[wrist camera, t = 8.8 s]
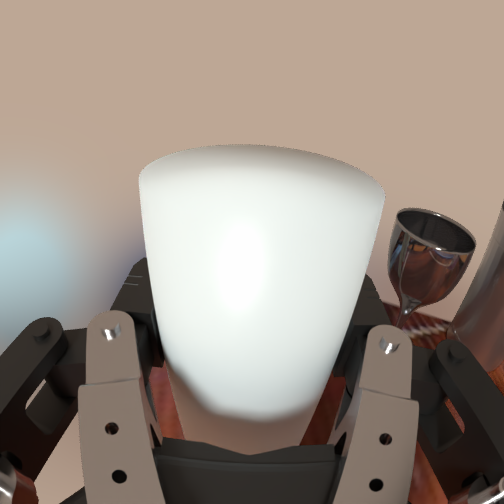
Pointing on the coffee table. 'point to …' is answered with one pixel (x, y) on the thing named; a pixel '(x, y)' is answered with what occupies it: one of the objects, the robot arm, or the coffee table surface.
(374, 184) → the white plastic cylinder
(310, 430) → the coffee table surface
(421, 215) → the wine glass
